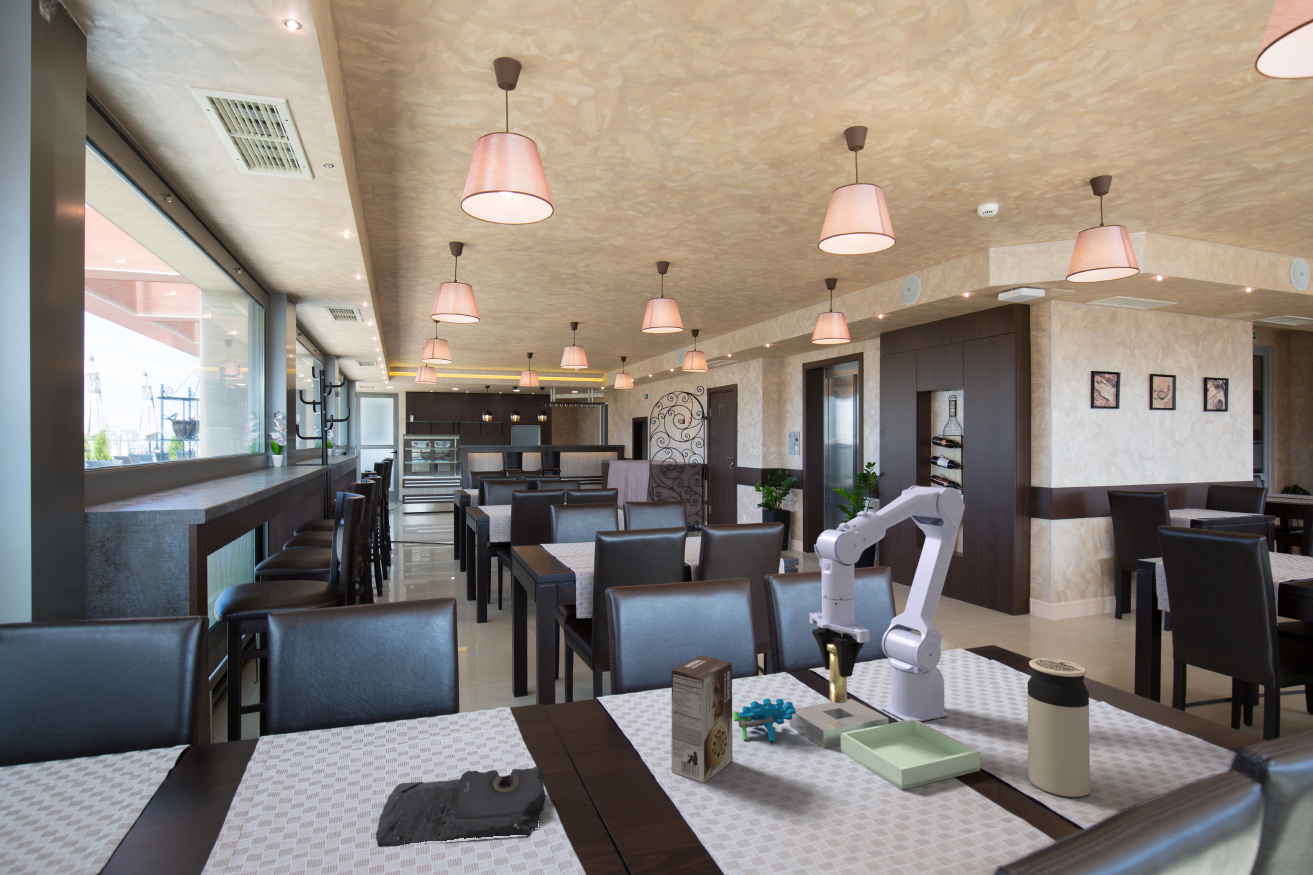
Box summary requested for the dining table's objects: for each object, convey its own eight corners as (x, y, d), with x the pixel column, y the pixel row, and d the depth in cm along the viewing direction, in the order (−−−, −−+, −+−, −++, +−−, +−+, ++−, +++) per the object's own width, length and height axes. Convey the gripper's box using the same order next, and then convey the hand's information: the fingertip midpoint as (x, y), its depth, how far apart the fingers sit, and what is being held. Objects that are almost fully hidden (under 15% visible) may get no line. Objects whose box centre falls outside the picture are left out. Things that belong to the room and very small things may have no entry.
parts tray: (914, 735, 118) (914, 718, 118) (980, 770, 105) (980, 751, 105) (840, 751, 112) (840, 733, 112) (901, 790, 99) (901, 769, 99)
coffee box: (699, 751, 112) (700, 654, 112) (733, 761, 108) (733, 661, 108) (669, 772, 104) (669, 668, 105) (704, 784, 101) (704, 676, 101)
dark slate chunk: (395, 792, 99) (396, 760, 99) (546, 782, 102) (546, 750, 102) (366, 854, 84) (367, 815, 84) (544, 839, 87) (544, 802, 87)
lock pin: (840, 694, 123) (839, 640, 123) (854, 702, 119) (854, 645, 120) (822, 697, 122) (822, 642, 122) (836, 705, 118) (836, 648, 118)
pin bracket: (851, 714, 128) (851, 698, 128) (888, 734, 118) (888, 717, 119) (789, 725, 122) (789, 709, 122) (823, 748, 113) (823, 730, 113)
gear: (794, 716, 123) (794, 691, 116) (801, 749, 118) (801, 725, 111) (734, 722, 123) (731, 698, 116) (738, 755, 119) (735, 732, 112)
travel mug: (1069, 803, 95) (1068, 677, 96) (1016, 779, 102) (1015, 661, 103) (1101, 791, 99) (1100, 669, 99) (1048, 768, 106) (1047, 654, 106)
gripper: (796, 590, 126) (796, 663, 126) (846, 607, 113) (846, 688, 112) (826, 587, 129) (826, 658, 128) (879, 603, 115) (879, 682, 115)
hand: (838, 672), depth 121 cm, fingers closed on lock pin, 4 cm apart
